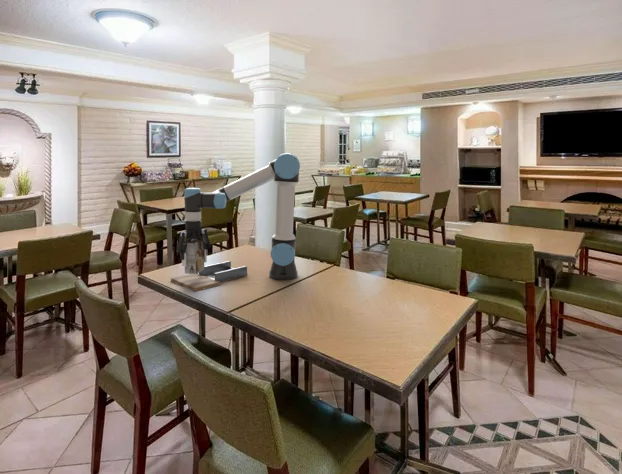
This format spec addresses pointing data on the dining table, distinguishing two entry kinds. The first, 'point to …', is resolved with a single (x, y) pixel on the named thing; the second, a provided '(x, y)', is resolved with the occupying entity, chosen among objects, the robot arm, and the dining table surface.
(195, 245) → the coffee box
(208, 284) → the serving board
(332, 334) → the dining table surface
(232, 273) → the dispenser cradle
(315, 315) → the dining table surface
